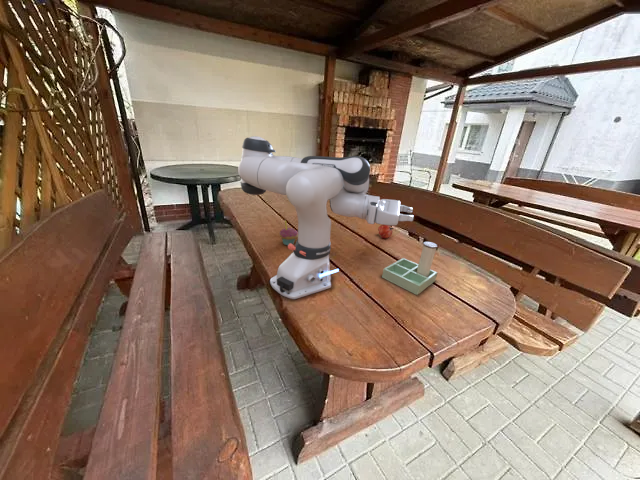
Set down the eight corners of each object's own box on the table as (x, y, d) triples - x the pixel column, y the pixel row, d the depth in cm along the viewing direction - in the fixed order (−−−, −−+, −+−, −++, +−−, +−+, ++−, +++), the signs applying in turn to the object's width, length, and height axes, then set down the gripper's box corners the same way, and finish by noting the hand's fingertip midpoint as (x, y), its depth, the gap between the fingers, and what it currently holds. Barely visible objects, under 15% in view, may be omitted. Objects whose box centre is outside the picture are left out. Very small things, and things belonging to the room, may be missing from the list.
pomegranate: (374, 242, 135) (390, 236, 127) (370, 228, 136) (385, 222, 128) (383, 240, 140) (398, 234, 132) (378, 227, 141) (394, 220, 133)
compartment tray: (417, 295, 90) (419, 286, 88) (381, 277, 99) (383, 268, 98) (435, 281, 99) (437, 272, 98) (401, 265, 108) (403, 257, 107)
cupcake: (285, 248, 116) (286, 223, 111) (275, 241, 122) (275, 217, 117) (301, 244, 121) (302, 219, 116) (291, 237, 127) (291, 214, 122)
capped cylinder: (424, 282, 96) (433, 248, 90) (413, 277, 99) (421, 243, 93) (430, 278, 99) (439, 244, 93) (418, 273, 102) (427, 240, 96)
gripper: (374, 209, 105) (410, 214, 101) (368, 225, 87) (411, 232, 83) (377, 193, 102) (414, 198, 99) (370, 207, 84) (415, 213, 81)
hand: (412, 214), depth 91 cm, fingers open, 8 cm apart
